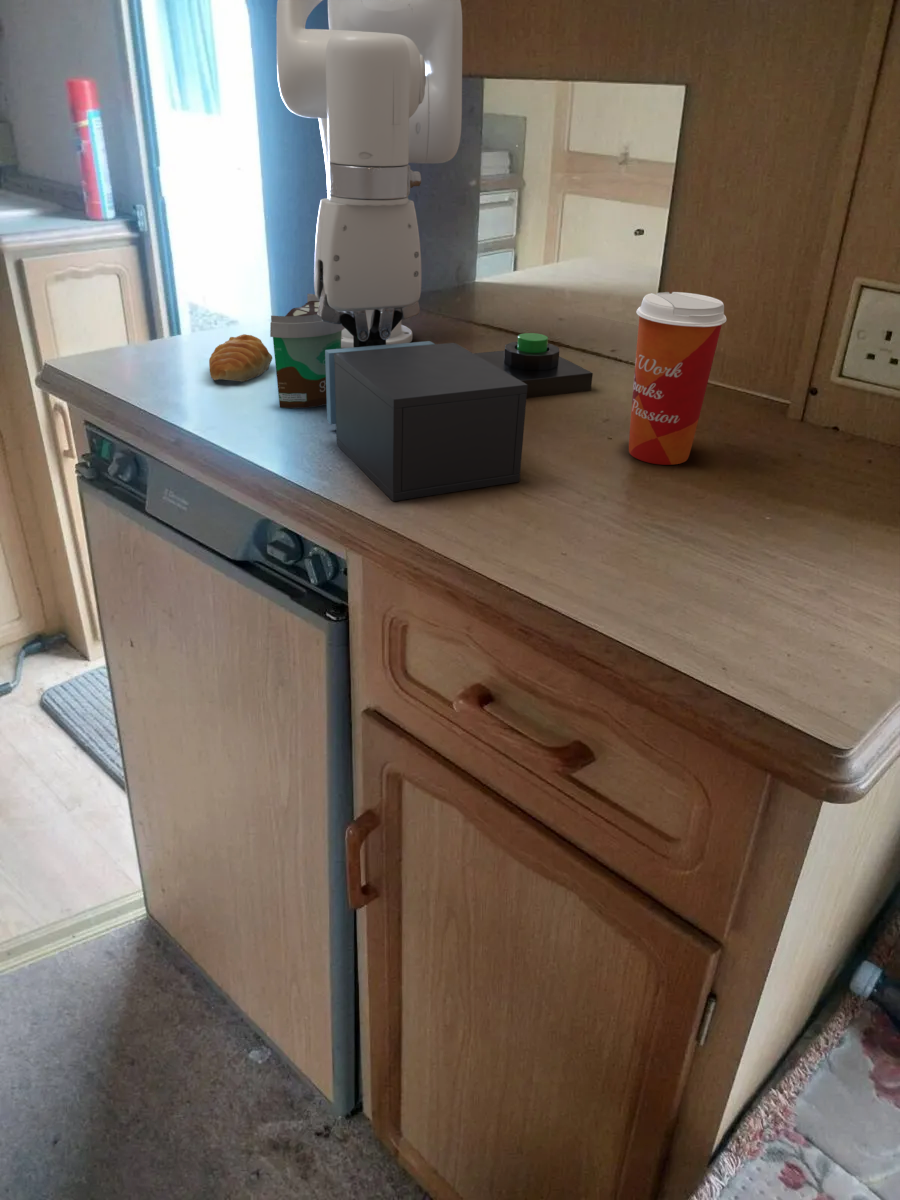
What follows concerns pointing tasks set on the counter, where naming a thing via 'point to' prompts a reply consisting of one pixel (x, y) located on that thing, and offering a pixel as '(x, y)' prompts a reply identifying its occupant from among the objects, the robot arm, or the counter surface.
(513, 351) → the block
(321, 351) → the food container
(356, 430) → the dark grey box
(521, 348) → the button
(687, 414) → the coffee cup
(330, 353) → the blue drawer
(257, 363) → the pastry
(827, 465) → the counter surface
